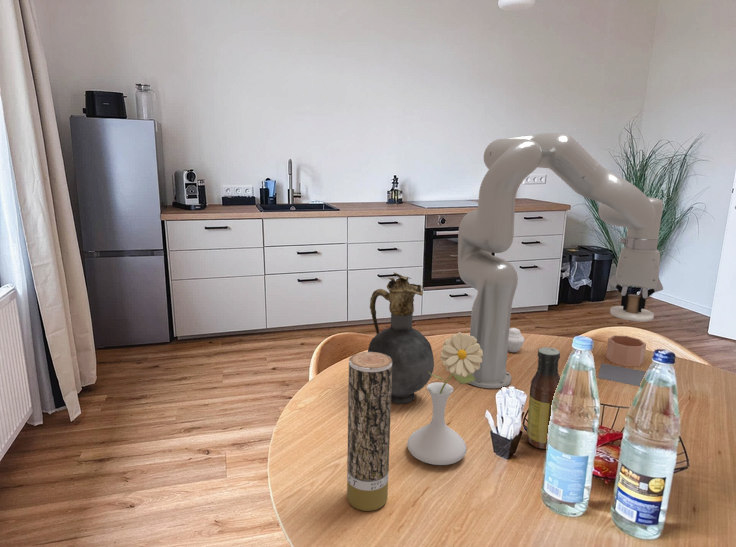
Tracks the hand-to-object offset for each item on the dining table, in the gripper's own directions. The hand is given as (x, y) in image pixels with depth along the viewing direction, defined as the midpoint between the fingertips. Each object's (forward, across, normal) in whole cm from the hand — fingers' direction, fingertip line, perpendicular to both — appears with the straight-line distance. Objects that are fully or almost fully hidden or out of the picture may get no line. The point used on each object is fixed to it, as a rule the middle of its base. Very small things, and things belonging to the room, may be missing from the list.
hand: (632, 309), depth 145 cm
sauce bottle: (+15, -13, -56) cm, 59 cm away
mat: (+15, 0, -12) cm, 19 cm away
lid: (+2, 0, 0) cm, 2 cm away
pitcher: (+15, -48, -51) cm, 72 cm away
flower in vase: (+15, -30, -70) cm, 77 cm away
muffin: (+15, -30, -8) cm, 34 cm away
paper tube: (+15, -36, -89) cm, 97 cm away
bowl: (+15, 0, 0) cm, 15 cm away
